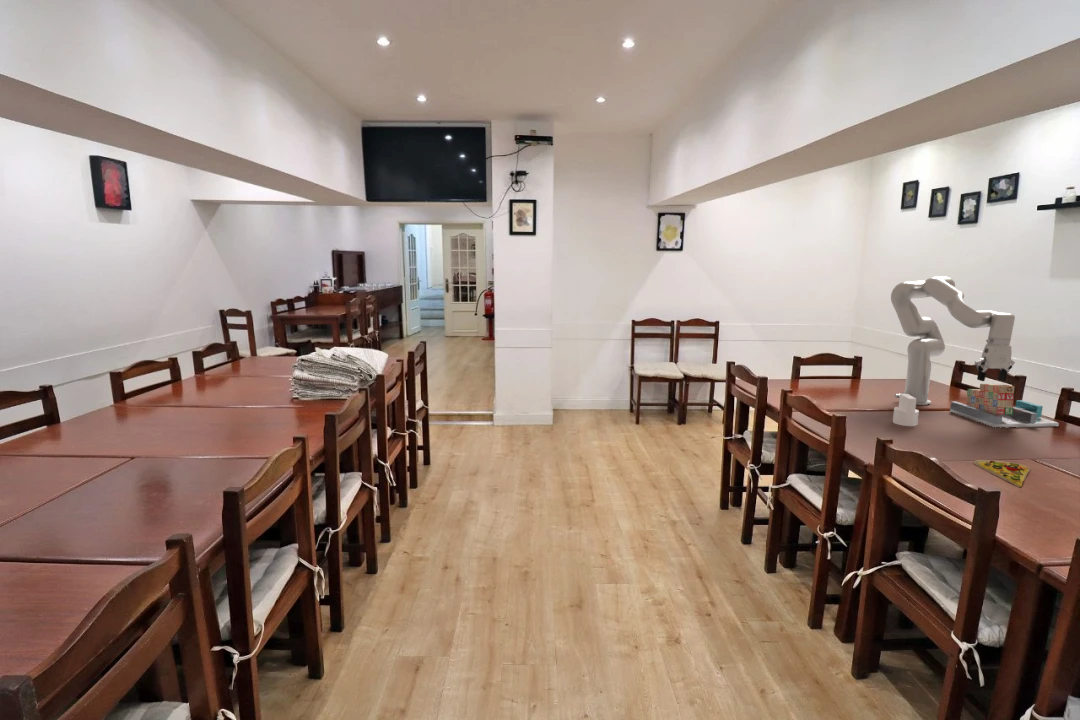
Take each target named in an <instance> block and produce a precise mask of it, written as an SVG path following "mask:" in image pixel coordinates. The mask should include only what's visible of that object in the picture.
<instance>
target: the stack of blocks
mask: <svg viewBox="0 0 1080 720" xmlns="http://www.w3.org/2000/svg"><path fill="white" fill-rule="evenodd" d="M966 396H967V397H966V399H967V400H966V405H969V406H972V407H975V408H978V409H981V410H984V411H987V412H990V413H993V414H1005V415H1013V407H1014V399H1015V386H1014V385H1010V384H999V383H998V384H996V383H979V389H977V388H967V390H966Z"/></svg>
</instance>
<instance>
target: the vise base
mask: <svg viewBox="0 0 1080 720" xmlns="http://www.w3.org/2000/svg"><path fill="white" fill-rule="evenodd" d="M951 412H953V413H952V414H954V413H955V414H954V415H957V414H958V415H957V416H960V415H961V416H960V417H962V416H964V417H963V418H965V417H966V419H968V418H969V420H971V419H972V421H974V420H975V421H974V422H978V423H979V422H981V423H980V424H982V423H984V424H983V425H985V424H986V426H988V425H989V426H988V427H991V426H992V427H991V428H994V427H995V428H994V429H997V428H996V427H1000V428H999V429H1002V428H1001V427H1005V428H1004V429H1010V428H1009V427H1016V428H1041V427H1043V428H1044V427H1047V428H1048V427H1059V424H1060V423H1059V422H1057V421H1054V420H1050V419H1048V418H1044V417H1042V416H1041V417H1038V418H1036V423H1029V422H1026V421H1023V420H1019V419H1016V418H1013V417H1010V416H1007V415H1004V414H993V413H990V412H987V411H984V410H981V409H978V408H975V407H972V406H969V405H967V403H963V402H959V401H956V400H955V401H951V402H950V409H949V413H951Z"/></svg>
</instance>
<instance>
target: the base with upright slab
mask: <svg viewBox="0 0 1080 720" xmlns="http://www.w3.org/2000/svg"><path fill="white" fill-rule="evenodd" d="M899 394H900V398H898V399H899V400H898V406H895V407H894V408H893V415H892V417H893V418H892V422H893V424H895V425H900V426H904V427H905V426H906V427H917V426H918V423H919V415H920V410H919V409H916V406H917V405H916V398H914V397H912V396H910V395H909V394H902V393H899ZM916 425H917V426H916Z"/></svg>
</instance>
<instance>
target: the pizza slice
mask: <svg viewBox="0 0 1080 720" xmlns="http://www.w3.org/2000/svg"><path fill="white" fill-rule="evenodd" d="M972 463H974V464H973V465H975V464H976V466H977V465H978V466H977V467H979V468H981V469H983V470H985V471H986V472H988V473H991V474H993V475H994V476H996V475H997V476H996V477H998V476H999V478H1000V479H1002V480H1005V481H1006V482H1007V483H1008V482H1009V483H1010V484H1012V485H1014V486H1016V487H1018V488H1022V486H1023V484H1024V482H1025V480H1026V478H1027V477H1026V476H1028V475H1027V474H1029V473H1030V472H1031V468H1030V467H1029V465H1028V466H1027V465H1024V464H1022V463H1021V464H1020V463H1016V462H1009V461H1003V460H996V459H995V460H994V459H993V460H989V459H976V460H974V461H972ZM1028 472H1029V473H1028ZM1023 481H1024V482H1023Z"/></svg>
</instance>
